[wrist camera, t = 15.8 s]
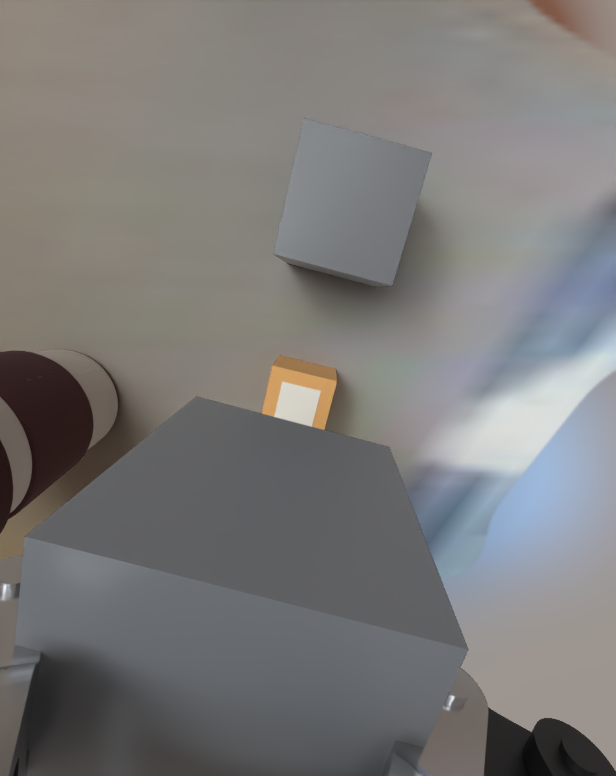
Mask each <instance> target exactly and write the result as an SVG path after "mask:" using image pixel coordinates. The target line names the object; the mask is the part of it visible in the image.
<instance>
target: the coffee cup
mask: <svg viewBox="0 0 616 776" xmlns="http://www.w3.org/2000/svg"><path fill="white" fill-rule="evenodd" d="M117 411H118V399H117V393H116V390H115V387H114V384H113V382H112V381H111V379H110V377H109V376H108V374H107V373H106V371H105V370H104V369H103V368H102V367H101V366H100V365H99V364H98V363H96V362H95V361H94V360H92V359H91V358H89V357H87V356H85V355H83V354H81V353H78V352H75V351H71V350H62V349H55V350H46V351H38V352H26V351H6V352H0V533H1V532H2V530H3V528H4V527H5V525H6V523H7V520H8V519H9V518H11V517H13V516H14V515H16V514H17V513H18V512H19V511H21V510H22V509H23V508H24V507H25V506H27V505H28V504H29V503H30V502H31V501H33V500H34V499H35V498H36V497H37V496H39V495H40V494H41V493H42V492H43V491H44V490H46V489H47V488H48V487H49V486H50V485H52V484H53V483H54V482H55V481H56V480H58V479H59V478H60V477H61V476H62V475H64V474H65V473H66V472H67V471H68V470H70V469H71V468H72V467H73V466H74V465H75V464H76V463H77V462H78V461H79V460H80V459H81V458H82V457H83V456H84V454H85V453H86V451H87V450H89V449H90V448H91V447H92V446H93V445H95V444H96V443H97V442H98V441H100V440H101V439H102V438H103V437H104V436H105V435H106V434H107V433H108V432H109V431H110V429H111V428H112V426H113V424H114V422H115V419H116V416H117Z"/></svg>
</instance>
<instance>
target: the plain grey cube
mask: <svg viewBox="0 0 616 776" xmlns="http://www.w3.org/2000/svg"><path fill="white" fill-rule="evenodd" d="M15 645H18V646H22V647H26V648H30V649H34V650H38V651H41V657H40V666H39V675H38V680H37V684H36V689H35V695H34V700H33V706H32V712H31V720H30V729H29V738H28V747H27V750H30V754H29V762H28V771H27V776H382V773H383V770H384V767H385V764H386V761H387V759H388V756H389V754H390V751H391V749H392V747H393V744H394V742H395V740H398V741H402V742H406V743H410V744H414V745H418V746H422V747H425V745H426V743H427V741H428V739H429V736H430V734H431V732H432V730H433V728H434V725H435V723H436V721H437V719H438V716H439V714H440V712H441V710H442V708H443V705H444V703H445V701H446V699H447V696H448V694H449V692H450V690H451V687H452V685H453V683H454V681H455V679H456V676H457V674H458V672H459V670H460V667H461V665H462V663H463V661H464V659H465V656H466V654H467V652H468V647H467V644H466V642H465V639H464V637H463V634H462V632H461V629H460V627H459V624H458V622H457V619H456V616H455V614H454V611H453V609H452V606H451V604H450V601H449V599H448V596H447V593H446V591H445V588H444V586H443V583H442V581H441V578H440V576H439V573H438V570H437V568H436V565H435V563H434V560H433V558H432V555H431V553H430V550H429V547H428V545H427V542H426V540H425V537H424V535H423V532H422V530H421V527H420V524H419V522H418V519H417V517H416V514H415V512H414V509H413V507H412V504H411V501H410V499H409V496H408V494H407V491H406V489H405V486H404V484H403V481H402V478H401V476H400V473H399V471H398V468H397V466H396V463H395V461H394V458H393V455H392V453H391V450H390V448H389V447H387V446H383V445H380V444H376V443H372V442H368V441H364V440H360V439H357V438H353V437H349V436H345V435H341V434H338V433H334V432H330V431H326V430H322V429H319V428H315V427H311V426H307V425H303V424H300V423H296V422H292V421H288V420H284V419H280V418H277V417H273V416H269V415H265V414H261V413H258V412H254V411H250V410H246V409H242V408H239V407H235V406H231V405H227V404H223V403H220V402H216V401H212V400H208V399H204V398H200V397H197V396H196V397H195V398H194V399H193V400H191V401H190V402H189V403H188V404H187V405H185V406H184V407H183V408H182V409H180V410H179V411H178V412H177V413H175V414H174V415H173V416H172V417H171V418H169V419H168V420H167V421H166V422H164V423H163V424H162V425H161V426H160V427H158V428H157V429H156V430H155V431H153V432H152V433H151V434H150V435H149V436H147V437H146V438H145V439H144V440H142V441H141V442H140V443H139V444H137V445H136V446H135V447H134V448H133V449H131V450H130V451H129V452H128V453H126V454H125V455H124V456H123V457H122V458H120V459H119V460H118V461H117V462H115V463H114V464H113V465H112V466H111V467H109V468H108V469H107V470H106V471H104V472H103V473H102V474H101V475H99V476H98V477H97V478H96V479H95V480H93V481H92V482H91V483H90V484H88V485H87V486H86V487H85V488H84V489H82V490H81V491H80V492H79V493H77V494H76V495H75V496H74V497H73V498H71V499H70V500H69V501H68V502H66V503H65V504H64V505H63V506H61V507H60V508H59V509H58V510H57V511H55V512H54V513H53V514H52V515H50V516H49V517H48V518H47V519H46V520H44V521H43V522H42V523H41V524H39V525H38V526H37V527H36V528H35V529H33V530H32V531H31V532H30V533H28V534H27V535H26V536H25V539H24V550H23V561H22V572H21V582H20V593H19V604H18V615H17V625H16V636H15Z"/></svg>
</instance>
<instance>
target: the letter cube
mask: <svg viewBox="0 0 616 776" xmlns="http://www.w3.org/2000/svg"><path fill="white" fill-rule="evenodd" d="M336 384H337V376H336V369H334V368H329V367H325V366H321V365H317V364H313V363H309V362H305V361H301V360H297V359H293V358H289V357H285V356H281V355H280V356H279V357H278V358H277V360H276V361H275V363H274V364H273V365H272V369H271V374H270V378H269V383H268V387H267V392H266V396H265V401H264V405H263V410H262V414H265V415H269V416H273V417H277V418H280V419H284V420H288V421H292V422H296V423H300V424H303V425H307V426H311V427H315V428H319V429H322V430H324V429H325V425H326V422H327V418H328V414H329V410H330V407H331V403H332V399H333V395H334V391H335V388H336Z"/></svg>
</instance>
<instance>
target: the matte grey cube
mask: <svg viewBox="0 0 616 776" xmlns="http://www.w3.org/2000/svg"><path fill="white" fill-rule="evenodd" d="M431 155H432V153H431V152H427V151H423V150H420V149H416V148H412V147H409V146H405V145H401V144H398V143H394V142H390V141H387V140H383V139H379V138H376V137H372V136H368V135H365V134H361V133H358V132H354V131H350V130H347V129H343V128H339V127H336V126H332V125H328V124H325V123H321V122H317V121H314V120H310V119H306V118H304V119H303V124H302V128H301V133H300V137H299V142H298V146H297V150H296V155H295V159H294V164H293V168H292V173H291V177H290V182H289V186H288V190H287V195H286V199H285V204H284V208H283V213H282V217H281V222H280V226H279V230H278V235H277V239H276V244H275V248H274V253H273V254H274V255H276V256H277V257H279V258H280V259H282V260H283V261H285V262H286V263H288V264H292V265H296V266H299V267H303V268H307V269H311V270H314V271H318V272H322V273H326V274H329V275H333V276H337V277H340V278H344V279H348V280H352V281H355V282H359V283H363V284H367V285H370V286H374V287H380V286H392V285H393V282H394V278H395V275H396V272H397V268H398V265H399V262H400V258H401V255H402V252H403V248H404V245H405V242H406V238H407V235H408V232H409V228H410V225H411V222H412V219H413V215H414V212H415V209H416V205H417V202H418V199H419V195H420V192H421V189H422V185H423V182H424V179H425V175H426V172H427V169H428V165H429V162H430V159H431Z"/></svg>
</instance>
